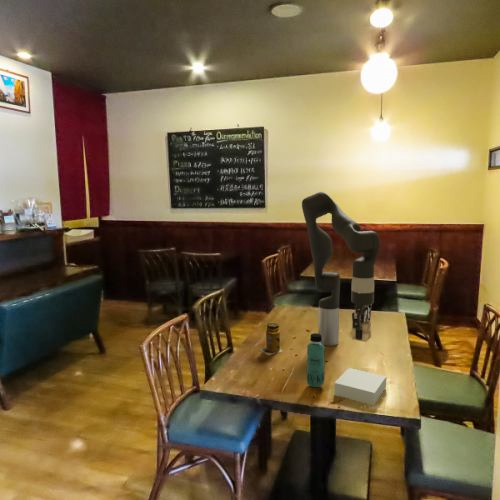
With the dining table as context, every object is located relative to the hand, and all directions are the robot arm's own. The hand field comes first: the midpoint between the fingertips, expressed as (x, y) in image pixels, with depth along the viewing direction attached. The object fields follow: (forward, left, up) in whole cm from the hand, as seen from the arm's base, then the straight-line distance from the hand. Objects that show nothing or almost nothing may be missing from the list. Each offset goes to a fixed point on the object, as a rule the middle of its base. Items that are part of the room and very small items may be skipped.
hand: (361, 336), depth 146 cm
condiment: (-16, -46, -21) cm, 53 cm away
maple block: (0, 0, -1) cm, 1 cm away
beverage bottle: (+5, -15, -21) cm, 26 cm away
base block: (0, 0, -21) cm, 21 cm away
